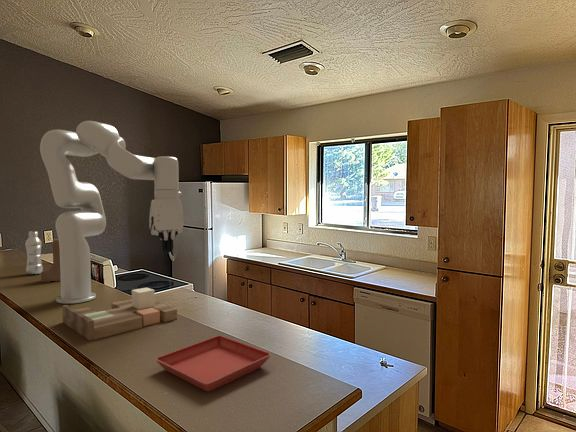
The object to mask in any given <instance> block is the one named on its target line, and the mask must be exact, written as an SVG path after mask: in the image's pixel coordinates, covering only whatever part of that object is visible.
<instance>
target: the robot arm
mask: <svg viewBox="0 0 576 432" xmlns="http://www.w3.org/2000/svg"><path fill="white" fill-rule="evenodd" d="M75 129H76V130H75V131H70V130H65V129H51V130H48V131H46V133H44V135H42V137H41V139H40V145H39V151H40V157H41V159H42V161H43V163H44V167H45V169H46V172H47V175H48V179H49V180H48V181H49V183H50V188H51V191H52V196H53V199H54V202H55V204H56V205H57V206H58V207H59V208H62V209H80V210H70V211H65V212H63V213H61V214H59V215H58V217H57V218H56V221H55V230H56V233H57V234H56V235H57V239H59V248H60V275H61V281H60V295H59V296H57V297H56V298H55V301H56V303H58V304H64V305H69V304H79V303H80V304H81V303H86V302H89V301H93V300H95V299H96V298H97V294H96V293H95V292H92V276H91V273H92V271H91V268H92V267H91V249H90V246H89V244H88V241H87V239H86V237H92V236H93V237H94V236H98V235H101V234H102V233H103V232H105V230H106V227H107V218H106V214H105V210H104V205H103V202H102V201H103V200H102V198H101V194H100V191H99V190H98V188H97V187H96V186H95V185H94V184H92V183H91V182H87V181H85V182H84V181H79V180H78V178H77V174H76V170H75V168H74V166H73V163H71V162H70V160H69V159H68V158H67V156H72V157H73V156H74V157H79V158H80V157H81V158H83V157H84V158H87V157H92V156H95V155H98V154H100V155H101V156H103V157H104V158H105V160H106V162H107V164H108V165H109V167H111V168H112V169H113V170H114V171H116V172H117V173H119V174H120V175H122V176H123V177H126V178H128V179H131V180H144V181H154V183H153V184H154V185H153V186H154V187H153V189H154V199H152V200H151V203H150V207H149V218H148V219H149V220H148V221H149V222H148V224H149V225H148V226H149V230H150V235H152V236H157V237H158V238H159V239H160V241H161V249H162V252H163V253H166V254H169V253H173V250H174V240H175V238H176V237H177V236H178V235H179V234H182V233H183V232H184V229H183V228H184V209H183V205H182V200H181V199H180V197H181V196H183V192H182V191H180V188H179V187H180V185H179V181H180V177H179V175H180V174H179V173H180V172H179V160H178V158H177V157H175V156H169V155H167V156H165V155H164V156H157V157H150V156H144V155H137V154H133V153H131V152H130V151H128V150H126V148H127V147H126V146H127V145H126V141H125V139H124V138H123V137H121V136H120V133H119V132H118V130H117V128H115V126H113V125H111V124H109V123H103V122H98V121H95V120H84V121H82V122H80V123H79V124H78V125H77V127H76V128H75Z"/></svg>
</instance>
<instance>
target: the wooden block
mask: <svg viewBox="0 0 576 432" xmlns="http://www.w3.org/2000/svg"><path fill="white" fill-rule="evenodd" d="M40 275H41V277H40V278H41V283H51V282H50V281H55V282H61V275H60V248H59V239H58V238H54V239H52V266H50V268H49V269H48V268H47V269H44V270H43V271H42V272H41V273H40Z"/></svg>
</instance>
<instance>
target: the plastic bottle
mask: <svg viewBox="0 0 576 432" xmlns="http://www.w3.org/2000/svg"><path fill="white" fill-rule="evenodd" d="M38 236H39V231H28V238H27V239H26V240H25V243H24V245H25V250H26V255H27V258H26V267H25V271H26V273H27V275H33V274H35V275H39V274H41V272H42V271H43V269H44V267H43V266H44V265H43V263H42V244H43V242H42V239H40V238H39V237H38Z"/></svg>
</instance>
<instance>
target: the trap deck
mask: <svg viewBox="0 0 576 432" xmlns="http://www.w3.org/2000/svg"><path fill="white" fill-rule="evenodd" d="M61 307H62V323H64V325H66V326H67V327H69V328H70V329H72V330H73V331H74V332H76V333H77V334H79V335H80V336H82V337H84V338H85V340H87V341H94V340H98V339H102V338H107V337H110V336H113V335H114V336H115V335H118V334H123V333H126V332H130V331H134V330H139V329H142V328H143V325H142V317H141V316H139V315H136V311H138V310H143V309H148V308H154V309H156V310H158V311H160V321H161V322H162V321H163V322H165V323H166V322H170V321H174V320H177V319H178V309H177V308H175V307H172V306H170V305H167V304H164V303H162V302H159V301H156V300H155V306H152V307H148V308H143V309H138V308H135V307H133V306H132V298H130V299H126V300H125V299H124V300H120V301H115V302H111V309H106V310H100V311H96V310H94V309H92V308H90V307H89V306H88V307H83V308H77V309H75V308H73V306H70V305H69V304H64V305H62V306H61Z"/></svg>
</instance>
